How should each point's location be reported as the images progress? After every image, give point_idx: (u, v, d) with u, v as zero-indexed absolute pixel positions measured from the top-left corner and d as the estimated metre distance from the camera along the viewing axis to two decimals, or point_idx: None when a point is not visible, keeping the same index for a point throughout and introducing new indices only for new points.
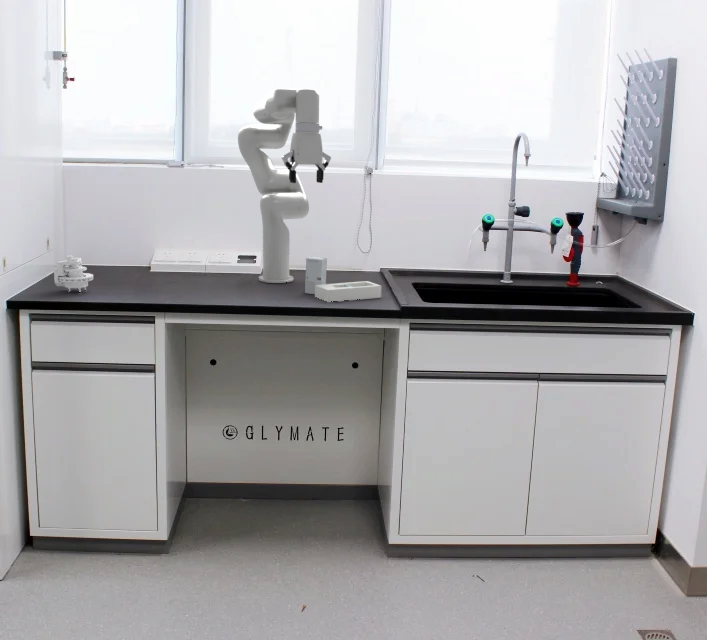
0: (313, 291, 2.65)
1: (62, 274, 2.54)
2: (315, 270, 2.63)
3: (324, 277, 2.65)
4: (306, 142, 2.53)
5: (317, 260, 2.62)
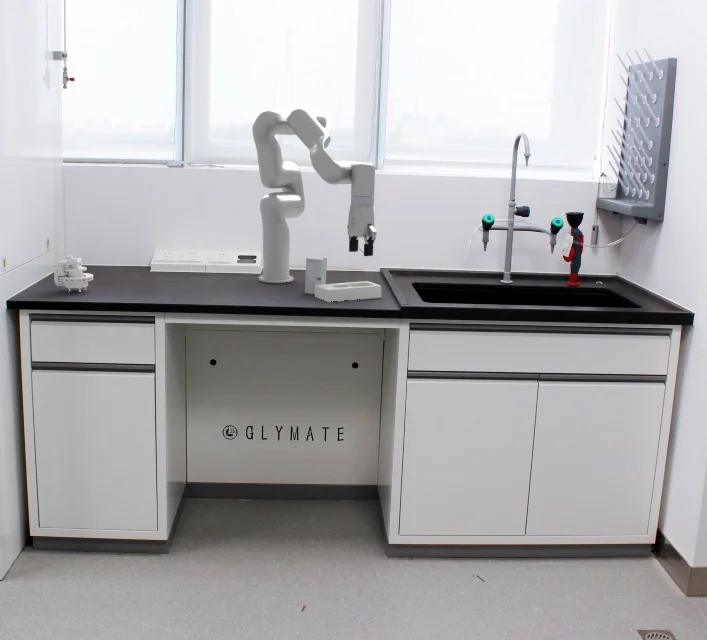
0: (313, 291, 2.65)
1: (62, 274, 2.54)
2: (315, 270, 2.63)
3: (324, 277, 2.65)
4: None
5: (317, 260, 2.62)
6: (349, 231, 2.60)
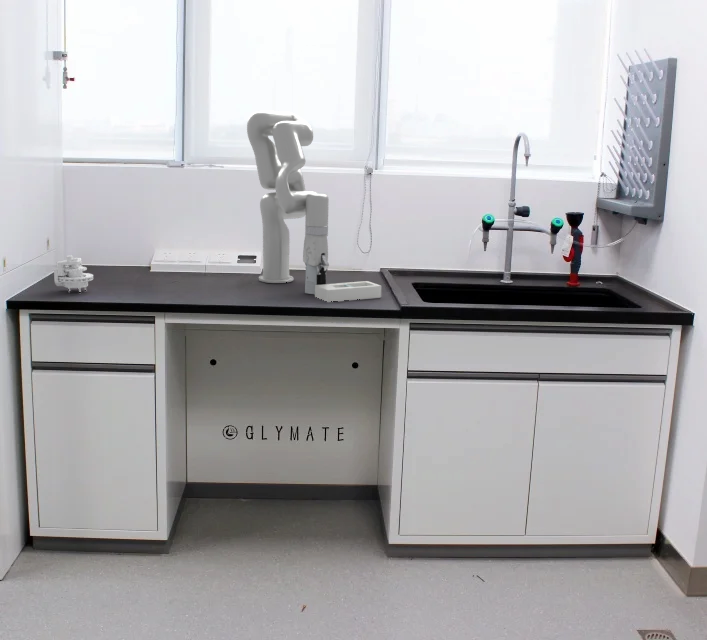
0: (313, 291, 2.65)
1: (62, 274, 2.54)
2: (315, 270, 2.63)
3: None
4: None
5: None
6: (304, 260, 2.66)
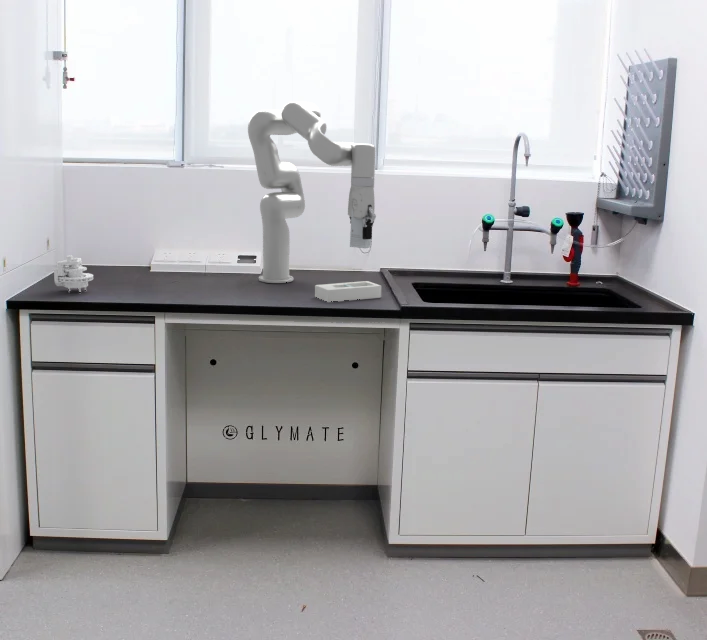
0: (358, 244, 2.58)
1: (62, 274, 2.54)
2: (361, 223, 2.56)
3: None
4: None
5: None
6: (349, 213, 2.59)
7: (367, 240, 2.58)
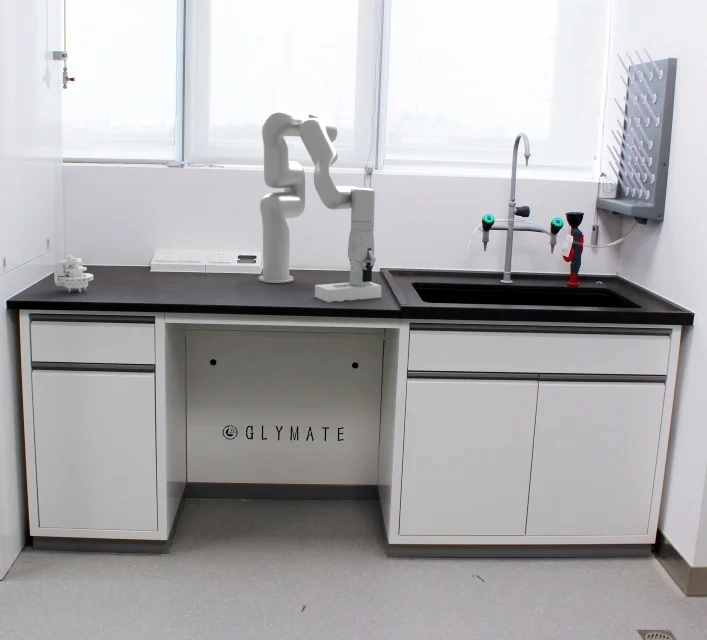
0: (358, 282, 2.61)
1: (62, 274, 2.54)
2: None
3: None
4: None
5: None
6: (349, 255, 2.62)
7: None
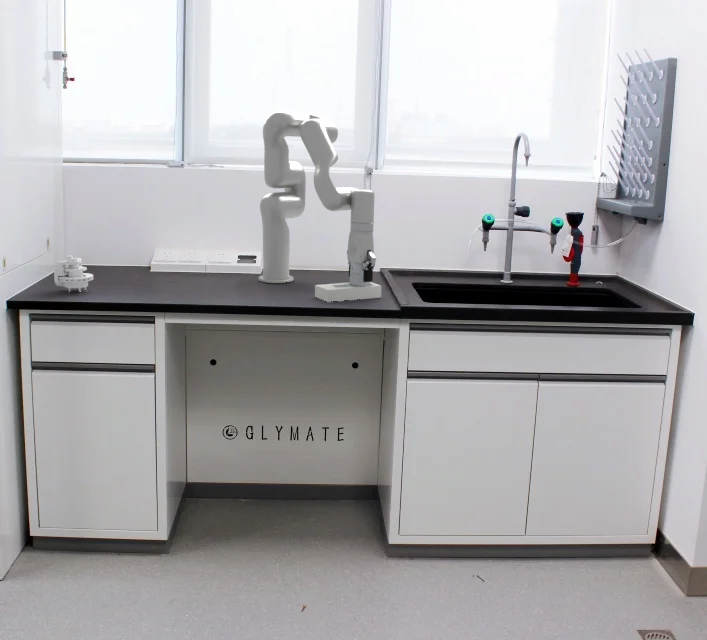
0: (358, 282, 2.61)
1: (62, 274, 2.54)
2: None
3: None
4: None
5: None
6: (349, 257, 2.62)
7: None
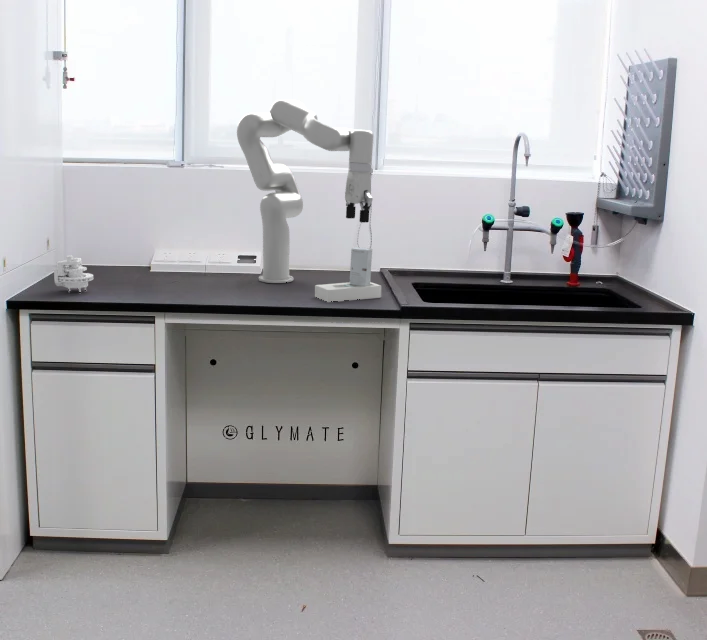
0: (358, 282, 2.61)
1: (62, 274, 2.54)
2: (361, 261, 2.59)
3: (369, 268, 2.61)
4: None
5: (363, 251, 2.58)
6: (346, 198, 2.64)
7: (367, 278, 2.61)
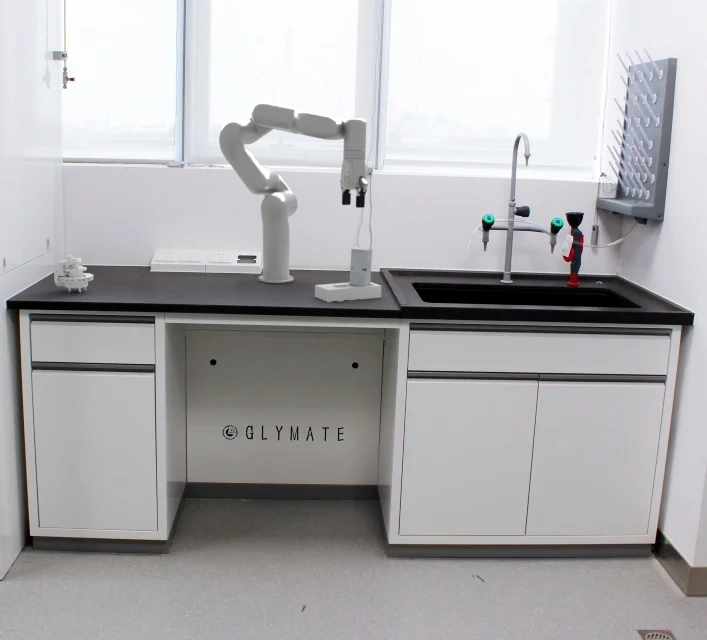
0: (358, 282, 2.61)
1: (62, 274, 2.54)
2: (361, 261, 2.59)
3: (369, 268, 2.61)
4: None
5: (363, 251, 2.58)
6: (342, 184, 2.73)
7: (367, 278, 2.61)
